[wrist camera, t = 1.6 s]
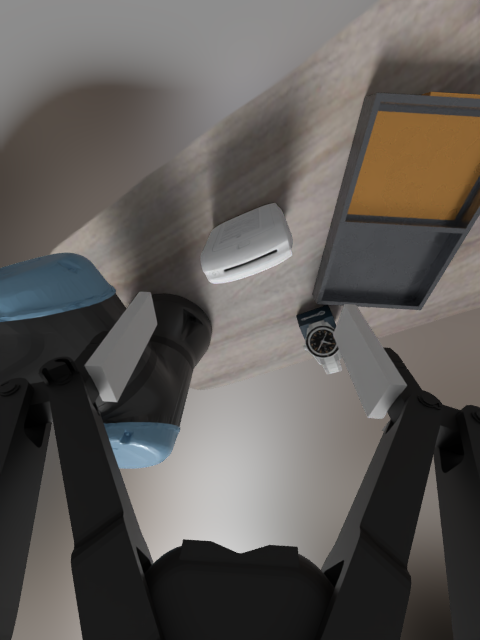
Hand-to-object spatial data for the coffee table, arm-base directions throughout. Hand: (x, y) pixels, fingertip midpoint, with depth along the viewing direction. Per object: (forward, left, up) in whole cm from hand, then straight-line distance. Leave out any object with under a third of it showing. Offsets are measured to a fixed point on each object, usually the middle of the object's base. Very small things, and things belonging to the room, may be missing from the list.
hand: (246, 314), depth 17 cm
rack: (+19, +2, -21) cm, 29 cm away
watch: (+13, -15, -21) cm, 29 cm away
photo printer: (0, 0, -21) cm, 21 cm away
